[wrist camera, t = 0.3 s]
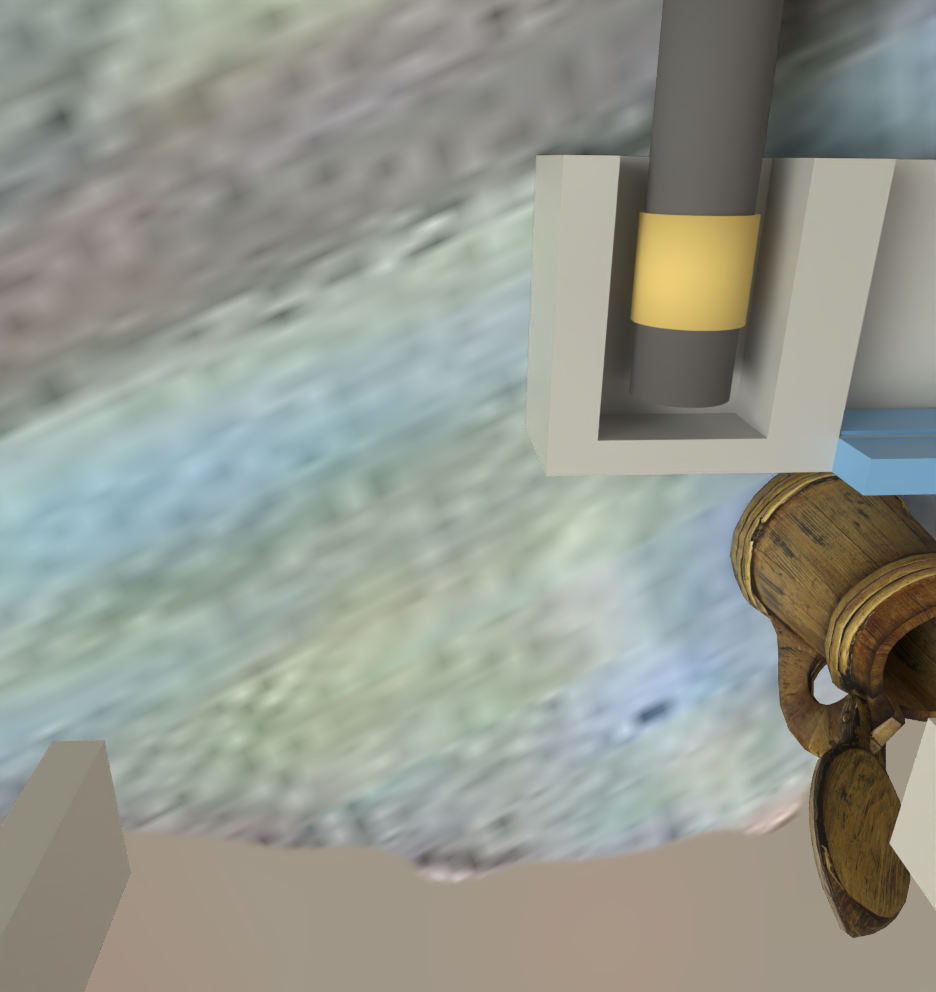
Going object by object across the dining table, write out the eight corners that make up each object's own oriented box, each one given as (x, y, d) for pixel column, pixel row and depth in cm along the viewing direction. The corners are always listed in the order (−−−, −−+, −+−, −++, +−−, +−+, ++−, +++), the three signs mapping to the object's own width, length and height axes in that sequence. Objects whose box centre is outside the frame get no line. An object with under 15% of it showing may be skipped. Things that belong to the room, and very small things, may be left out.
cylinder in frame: (546, -89, 30) (597, -182, 22) (1094, -71, 31) (1337, -152, 23) (525, 426, 38) (556, 500, 30) (961, 421, 39) (1106, 491, 31)
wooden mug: (630, 598, 42) (771, 880, 26) (835, 423, 39) (1144, 617, 23) (731, 689, 45) (915, 995, 29) (929, 532, 42) (1265, 776, 25)
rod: (653, -126, 27) (695, -178, 23) (776, -122, 28) (839, -172, 24) (613, 382, 34) (640, 409, 30) (712, 381, 35) (752, 408, 30)
